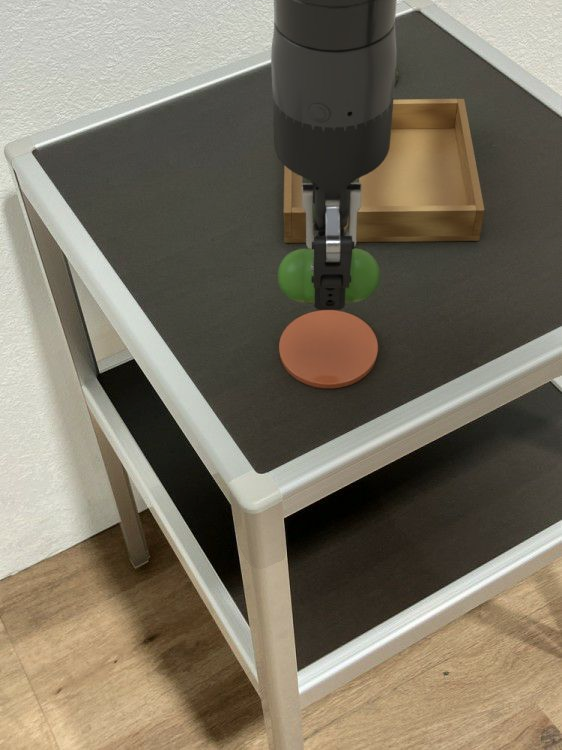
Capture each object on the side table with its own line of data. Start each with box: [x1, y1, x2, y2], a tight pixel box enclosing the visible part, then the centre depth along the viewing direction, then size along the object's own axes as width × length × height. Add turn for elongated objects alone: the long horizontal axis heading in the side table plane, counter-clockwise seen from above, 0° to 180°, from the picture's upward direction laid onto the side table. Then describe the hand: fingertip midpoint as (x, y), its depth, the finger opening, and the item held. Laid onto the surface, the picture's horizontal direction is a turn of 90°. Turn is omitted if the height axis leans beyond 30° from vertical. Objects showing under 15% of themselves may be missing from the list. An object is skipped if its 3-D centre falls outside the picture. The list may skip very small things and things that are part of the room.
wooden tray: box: [283, 98, 485, 244], centre depth 90 cm, size 17×16×4 cm
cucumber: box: [277, 247, 381, 304], centre depth 72 cm, size 8×4×4 cm, turn 89°
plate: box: [278, 310, 379, 390], centre depth 78 cm, size 8×8×1 cm
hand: (328, 283), depth 73 cm, fingers closed on cucumber, 4 cm apart
